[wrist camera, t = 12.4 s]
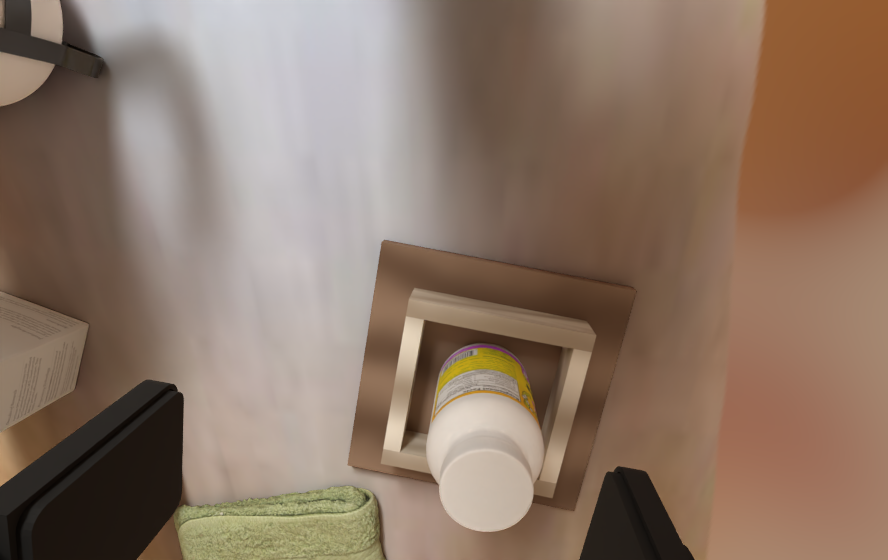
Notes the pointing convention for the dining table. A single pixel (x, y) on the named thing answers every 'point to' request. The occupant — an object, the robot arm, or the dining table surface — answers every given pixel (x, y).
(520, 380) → the supplement bottle
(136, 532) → the robot arm
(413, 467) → the collar dock
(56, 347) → the skincare box
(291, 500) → the washcloth
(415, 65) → the dining table surface
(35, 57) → the coffee press
